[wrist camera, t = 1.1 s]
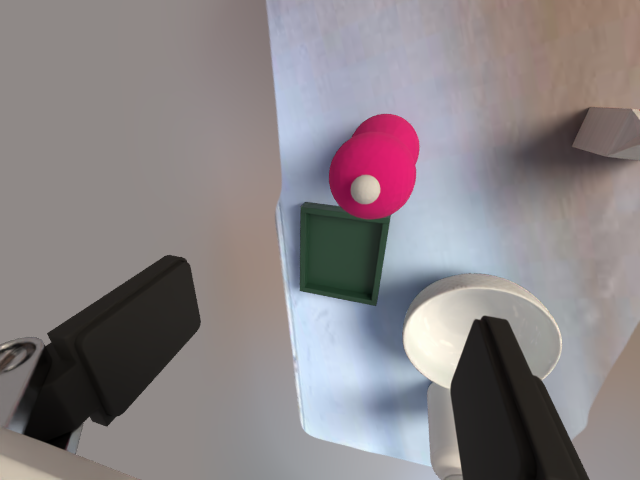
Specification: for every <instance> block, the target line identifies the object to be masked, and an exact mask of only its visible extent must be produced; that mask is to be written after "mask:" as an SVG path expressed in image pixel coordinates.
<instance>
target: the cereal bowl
mask: <svg viewBox="0 0 640 480" xmlns="http://www.w3.org/2000/svg"><path fill="white" fill-rule="evenodd" d="M484 315H486V316H491V317H496V318H501V319H506V320H508V322H509V324H510V326H511V328H512V330H513V332H514V335H515V337H516V339H517V341H518V343H519V346H520V348H521V350H522V352H523V354H524V357H525V359H526V361H527V363H528V366H529V368H530V370H531V372H532V374H533V375H535V376H537V377H539V378H540V379H541V380H542V379H544V378H545V377H546V376H547V375H548V374H549V373H550V372H551V371H552V370H553V368H554V367H555V365H556V364H557V362H558V360H559V357H560V354H561V349H562V338H561V333H560V330H559V328H558V325H557V323H556V322H555V320H554V318H553V317H552V316H551V315H550V313H549V311H548V310H547V309H546V307H545V306H544V305H542V303H541V302H540V301H539V300H538V299H537V298H536V297H535V296H533V295H532V294H531V293H530V292H529V291H527V290H526V289H524V288H523V287H521V286H519V285H518V284H516V283H513V282H511V281H509V280H506V279H504V278H500V277H497V276H492V275H486V274H476V273H474V274H471V273H469V274H460V275H454V276H450V277H447V278H443V279H441V280H438V281H436V282H434V283H432V284H431V285H429V286H428V287H426V288H425V289H424V290H422V291H421V292H420V293H419V294H418V295H417V296H416V298H415V299H414V300H413V301H412V303H411V304H410V307H409V308H408V310H407V313H406V316H405V319H404V324H403V333H402V335H403V346H404V350H405V352H406V354H407V356H408V358H409V360H410V361H411V363H412V364H413V365H414V367H415V368H416V369H417V370H418V371H419V372H420V373H421V374H423V375H424V376H425V377H427V378H428V379H429V380H431V381H433V382H434V383H436V384H438V385H440V386H442V387H445V388H447V389H450V386H451V381H452V378H453V376H454V373H455V370H456V367H457V365H458V362H459V359H460V356H461V354H462V351H463V348H464V345H465V343H466V340H467V337H468V334H469V332H470V329H471V326H472V323H473V321H474V320H475V319H479V320H480V319H481V317H482V316H484Z"/></svg>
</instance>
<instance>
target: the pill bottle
mask: <svg viewBox="0 0 640 480" xmlns="http://www.w3.org/2000/svg"><path fill="white" fill-rule="evenodd" d="M427 405H428V423H429V442H430V459H431V464H432V467H433V470H434V472H435V473H436V475H437V476H438V477H439V478H440V479H441V480H463V477H462V470H461V463H460V456H459V449H458V443H457V436H456V429H455V422H454V415H453V409H452V402H451V395H450V389H447V388H445V387H442V386H440V385H438V384H436V383H434V382H433V383H431V385H430V386H429V388H428V391H427Z"/></svg>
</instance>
